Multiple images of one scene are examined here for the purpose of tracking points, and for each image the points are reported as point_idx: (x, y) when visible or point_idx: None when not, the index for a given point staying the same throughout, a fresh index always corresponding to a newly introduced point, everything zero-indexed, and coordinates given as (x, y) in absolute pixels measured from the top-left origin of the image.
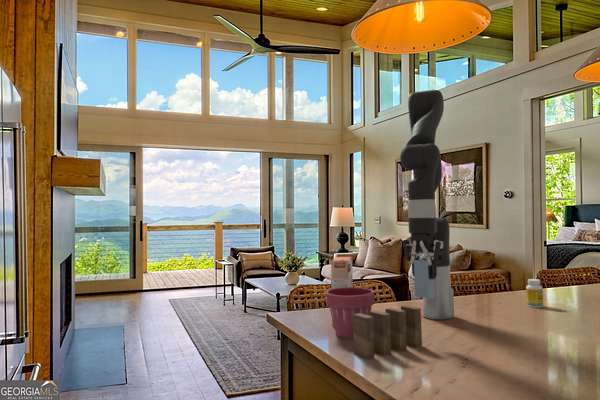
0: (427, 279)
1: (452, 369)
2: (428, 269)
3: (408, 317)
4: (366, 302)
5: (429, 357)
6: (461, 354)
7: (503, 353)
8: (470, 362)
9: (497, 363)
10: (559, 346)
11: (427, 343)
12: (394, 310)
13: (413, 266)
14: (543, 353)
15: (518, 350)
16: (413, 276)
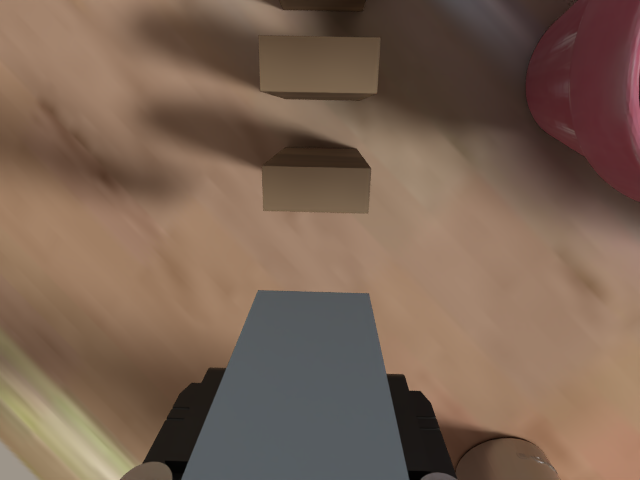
0: (241, 360)
1: (37, 53)
2: (201, 426)
3: (314, 160)
4: (587, 54)
5: (172, 94)
6: (147, 204)
7: (98, 301)
8: (71, 159)
9: (31, 213)
10: (82, 442)
11: (298, 215)
12: (308, 47)
13: (411, 444)
14: (52, 371)
15: (101, 350)
16: (402, 374)
